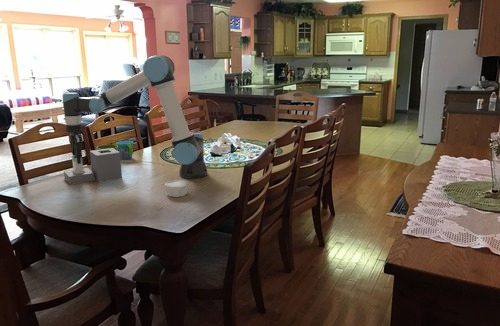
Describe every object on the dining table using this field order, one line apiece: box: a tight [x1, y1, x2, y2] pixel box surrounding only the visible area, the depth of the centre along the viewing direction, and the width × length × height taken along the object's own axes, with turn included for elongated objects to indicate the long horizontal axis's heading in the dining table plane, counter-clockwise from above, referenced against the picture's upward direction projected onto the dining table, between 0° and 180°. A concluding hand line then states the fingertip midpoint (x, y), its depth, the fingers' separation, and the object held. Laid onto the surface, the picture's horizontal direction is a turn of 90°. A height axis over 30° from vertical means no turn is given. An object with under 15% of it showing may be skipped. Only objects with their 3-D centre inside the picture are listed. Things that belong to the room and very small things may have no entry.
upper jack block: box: [89, 148, 123, 183], centre depth 213 cm, size 12×12×14 cm
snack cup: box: [114, 140, 135, 160], centre depth 253 cm, size 16×10×10 cm
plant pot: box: [96, 144, 118, 151], centre depth 236 cm, size 12×12×11 cm
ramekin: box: [164, 179, 190, 198], centre depth 190 cm, size 11×11×5 cm
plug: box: [71, 155, 84, 174], centre depth 209 cm, size 4×4×11 cm
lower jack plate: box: [63, 167, 96, 185], centre depth 210 cm, size 12×12×4 cm
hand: (78, 168), depth 209 cm, fingers closed on plug, 4 cm apart
